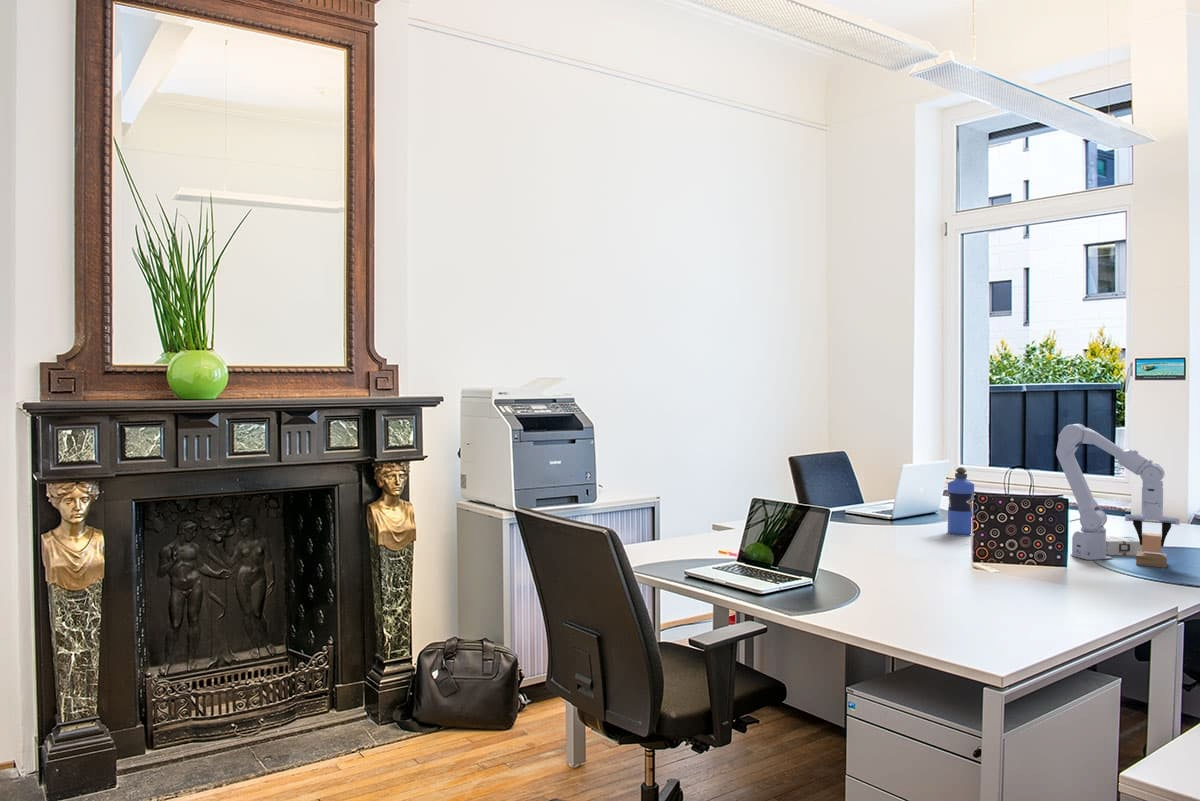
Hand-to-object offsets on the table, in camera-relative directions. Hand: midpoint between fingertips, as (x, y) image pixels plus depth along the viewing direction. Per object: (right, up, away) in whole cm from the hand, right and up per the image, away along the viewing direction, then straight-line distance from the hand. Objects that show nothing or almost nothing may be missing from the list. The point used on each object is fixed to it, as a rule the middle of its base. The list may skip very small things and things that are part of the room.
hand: (1151, 545), depth 278 cm
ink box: (+6, -3, +17) cm, 19 cm away
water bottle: (-38, -5, +55) cm, 67 cm away
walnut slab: (0, -6, 0) cm, 6 cm away
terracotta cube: (0, -2, 0) cm, 2 cm away
